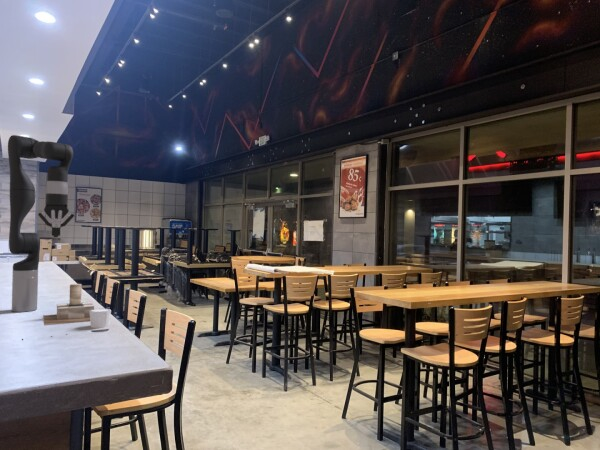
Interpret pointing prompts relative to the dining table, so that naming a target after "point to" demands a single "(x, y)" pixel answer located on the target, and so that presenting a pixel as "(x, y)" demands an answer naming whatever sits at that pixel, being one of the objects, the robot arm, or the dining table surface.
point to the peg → (75, 295)
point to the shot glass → (100, 319)
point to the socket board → (54, 320)
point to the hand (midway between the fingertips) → (55, 237)
